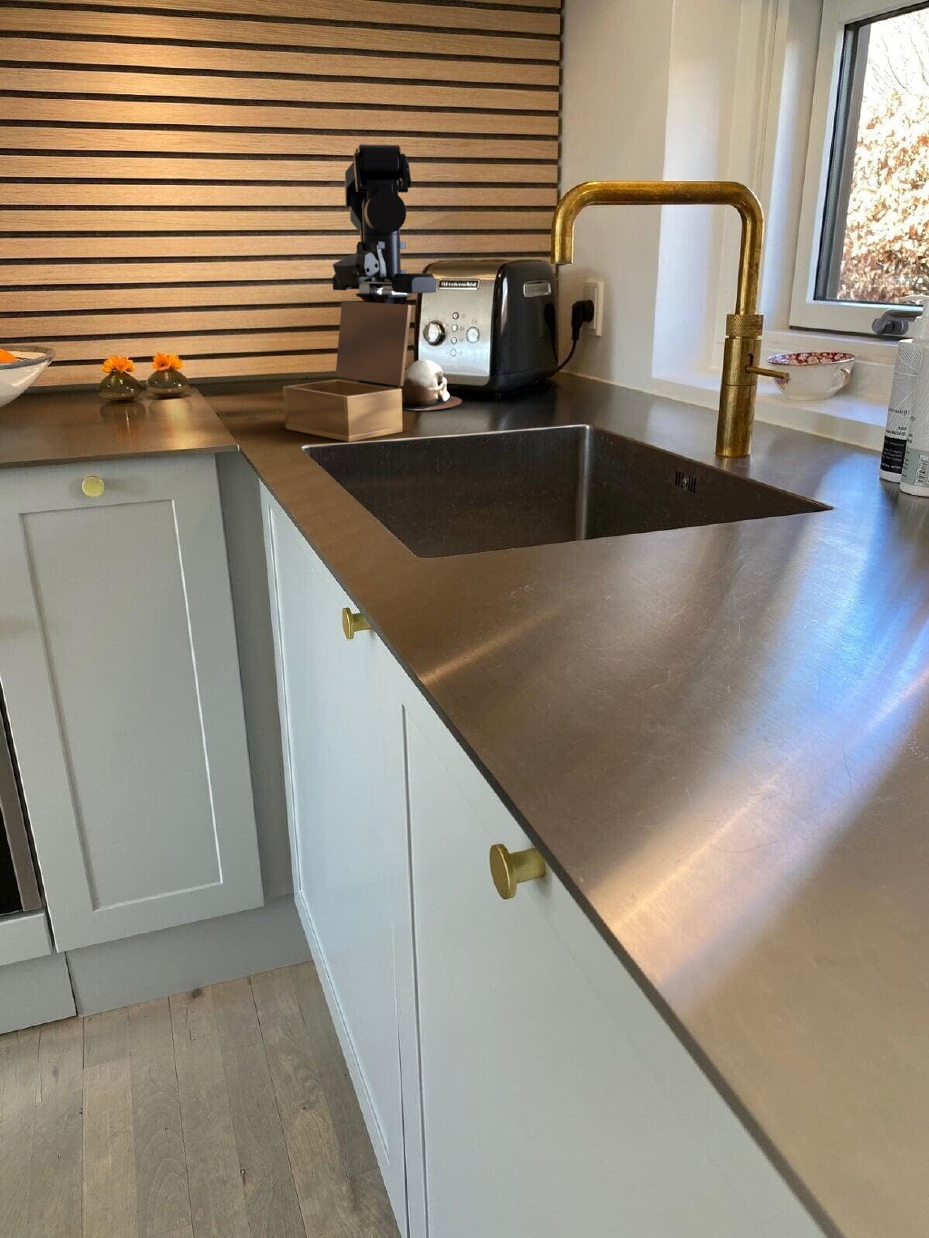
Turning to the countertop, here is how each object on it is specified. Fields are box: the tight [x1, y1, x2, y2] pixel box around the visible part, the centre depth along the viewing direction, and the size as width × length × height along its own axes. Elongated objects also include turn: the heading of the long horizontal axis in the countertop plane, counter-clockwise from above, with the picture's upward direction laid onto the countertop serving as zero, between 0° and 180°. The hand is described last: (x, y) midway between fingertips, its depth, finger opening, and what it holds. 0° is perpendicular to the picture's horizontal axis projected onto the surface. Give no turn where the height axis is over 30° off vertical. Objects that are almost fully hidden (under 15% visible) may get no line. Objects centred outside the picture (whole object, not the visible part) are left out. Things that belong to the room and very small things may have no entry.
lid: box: [335, 300, 412, 387], centre depth 141 cm, size 11×15×1 cm
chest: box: [282, 379, 404, 443], centre depth 140 cm, size 11×15×6 cm
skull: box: [400, 359, 463, 411], centre depth 162 cm, size 12×10×10 cm
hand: (384, 339), depth 151 cm, fingers closed
